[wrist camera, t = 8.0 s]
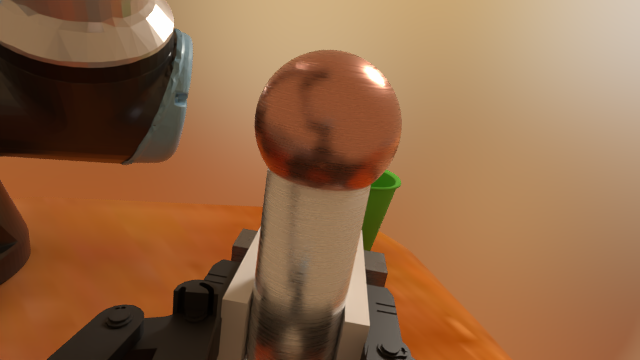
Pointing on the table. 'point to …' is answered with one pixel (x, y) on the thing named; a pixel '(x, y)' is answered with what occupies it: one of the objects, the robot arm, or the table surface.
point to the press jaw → (315, 196)
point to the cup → (378, 206)
